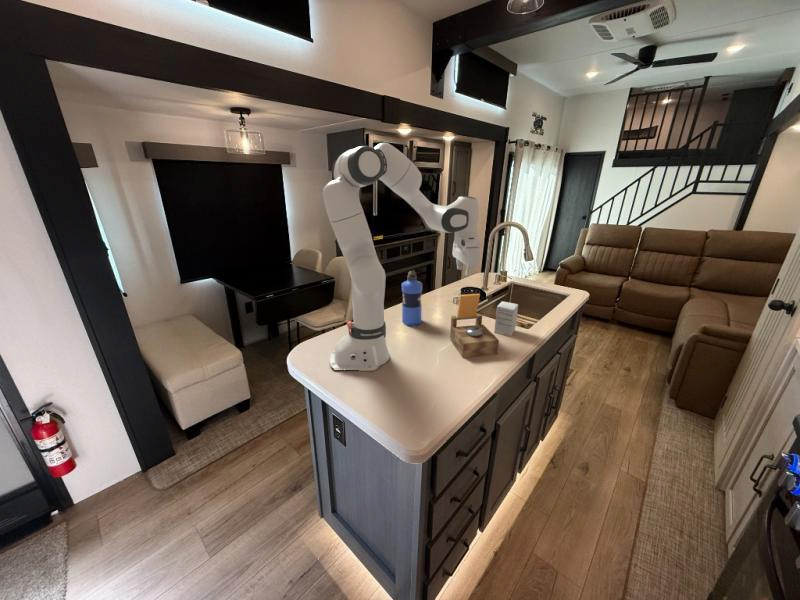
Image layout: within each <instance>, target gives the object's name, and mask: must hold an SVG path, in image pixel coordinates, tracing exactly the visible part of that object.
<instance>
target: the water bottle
mask: <svg viewBox="0 0 800 600" xmlns="http://www.w3.org/2000/svg"><path fill="white" fill-rule="evenodd" d="M407 274H408V275H407V276H406V277H407V278H406V279H407V280H405V281H403V282H402V283H401V293H402V304H401V308H402V309H401V311H402V312H401V315H402V316H401V320H402V322H403V323H404V324H403V323H402V324H403V325H405V326H408V325H409V327H415V326H416V327H417V326H419V325H421V323H422V311H423V310H422V294H423V293H422V292H423V283H422V282H421V281H418V280H417V279H418V278H417V272H416V271H415V270H414V269H413V270H412V269H411V270H409V271H408V272H407Z"/></svg>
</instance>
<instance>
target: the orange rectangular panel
mask: <svg viewBox="0 0 800 600" xmlns="http://www.w3.org/2000/svg"><path fill="white" fill-rule="evenodd" d="M480 297H481V294H480V293H469V294H459V299H458V307H457V314H456V315H457V316H456V317H457V321H460V320H461V321H462V320H473V319H475V320H476V314H478V313H477V312H478V307H479V302H480Z"/></svg>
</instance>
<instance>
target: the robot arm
mask: <svg viewBox="0 0 800 600" xmlns="http://www.w3.org/2000/svg"><path fill="white" fill-rule="evenodd" d="M332 165H333V166H332V175H331V181H329V182H328V183H327V184H326V185H325V186H324V187H323V190H322V197H323V198H322V199H323V201H324V207H325V211H326V213H327V217H328V220H329V224H330V225H331V228H332V230H333V233H334V236H335V239H336V241H337V244H338V246H339V249H340V251H341V253H342V256H343V258H344V261H345V263H346V266H347V268H348V271H349V274H350V278H351V291H352V292H351V294H352V295H351V296H352V297H351V298H352V317H353V319H352V320H353V321H351V320H349V321H347V323H346V325H347V326H346V327H347V329H348V330H347V331H348V332H347V333H346V334H345V335H344V336H342V338H339V340H337V342H336V345H335V347H334V350H333V351H331V353H330V355H329V362H330V364H329V366H330V365H331V367H332V368H333V369H340V370H341V369H342V370H344V369H345V370H359V371H358V372H361V371H362V372H372V371H376V370H377V369H378V368H379V367H380V366H382V365H384V364H385V363H387V362H388V361H389V359H390V357H391V355H390V352H389V349H388V346H387V341H386V339H387V338H386V337H387V325H386V320H385V305H384V302H385V295H386V294H385V292H386V271H385V269H384V268H383V267H384V266H382V264H381V262H380V260H379V258H378V255H377V252H376V251H377V250H376V249H375V245H374V241H373V240H374V239H373V238H372V233H371V230H370V227H369V224H368V220H367V219H366V215H365V212H364V209H363V207H362V204H361V201H360V190H361V188H363V187H367V186H371V185H373V184H374V183H376V182H378V180H379V181H381V182H382V183H383V184H384V185H385V186H386V187H388V188H389V189H390V190H391V191H392V192H393V193H395V194H396V195H397V196H399V197H400V198H402V199H403V200H404V201H405V202H406V203H407V204H408V205H409V206H410V207H411V208H412V209H414V211H415V212H416V213H417V214H418V215H419V217H420V218H421V220H422V223H423V224H424V226H425V227H426V228H427V229H428V230H430V231H438V232H442V233H445V234H446V233H447V234H452V233H454V237H453V238H454V240H453V244H452V257H453V258H455V261H456V269H457V270H459V271H462V270H463V264H464V265H465V267H466V270H465V272H464V274H465V276H467V277H470V276H471V275H472V270H473V269H474V268H477V267H478V265H479V263H480V256H481V255H480V254H481V249H480V247H482V240H481V239H480V237H479V235H478V223H479V214H480V212H479V211H480V207H479V201H478V199H476V197H473V196H465V195H462V196H461V195H460V196H458V197H457V199H456V200H455V201H453V202H451V203H450V204H448V205H439V204H436V203H432V202H431V201H430V200H429V199H428V198H427V197H426V196H425V195H424V194H423V193H422V191H421V190H420V188H421V186H422V181H423V177H422V173H421V171H420V170H419V168H418V166H416V165H415V163H413V161H411V160H410V158H408V157H407V156H406V155H405V154H404V153H403V152H401V151H400V150H399V149H398V148H396V147H395V146H394V145H392V144H390V143H388V142H380V143H378V144H377V145H375V146H374V147H372V146H368V145H361V146H357V147H355V148H350V149H348V150H346V151H345V152H343V153H342V154H339V156H337V158H336V159H335V160H334V161H333V164H332ZM333 353H335V354H333ZM329 362H328V363H329ZM333 364H334V365H333ZM331 367H330V368H331ZM332 368H331V369H332ZM333 369H332V370H333Z"/></svg>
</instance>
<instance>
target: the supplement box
mask: <svg viewBox="0 0 800 600" xmlns="http://www.w3.org/2000/svg"><path fill="white" fill-rule="evenodd" d="M518 310H519V303H518V304H517V303H512V302H509V301H503V300H502V301H501V302H500V303H499V304H498V305H497V306H496V312H495V319H494V320H495V321H494V331H493V332H494V334H499V335H503V336H506V337H510V336H511V337H512V336H513V334H514V332H515V331H516V325H517V317H518Z"/></svg>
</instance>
